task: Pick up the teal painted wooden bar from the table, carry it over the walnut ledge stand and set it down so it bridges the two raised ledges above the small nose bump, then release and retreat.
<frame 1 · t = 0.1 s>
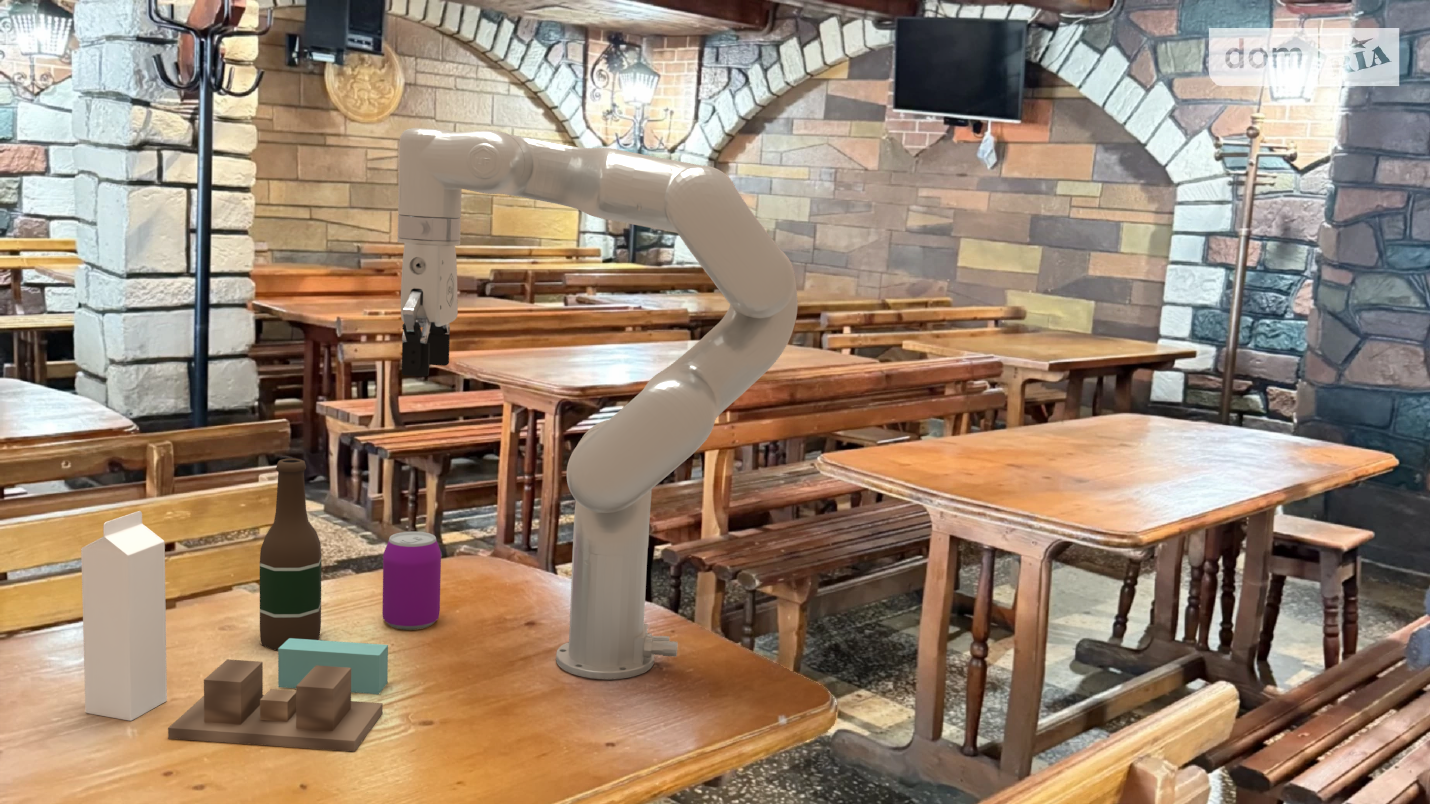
hand: (426, 369, 156), 37 cm above the table, tool pointing down, fingers open, 9 cm apart
ledge stand: (279, 725, 138), on the table
beverage can: (411, 623, 173), on the table
milk: (126, 708, 141), on the table
teal bar: (333, 686, 150), on the table
beer bottle: (290, 642, 163), on the table
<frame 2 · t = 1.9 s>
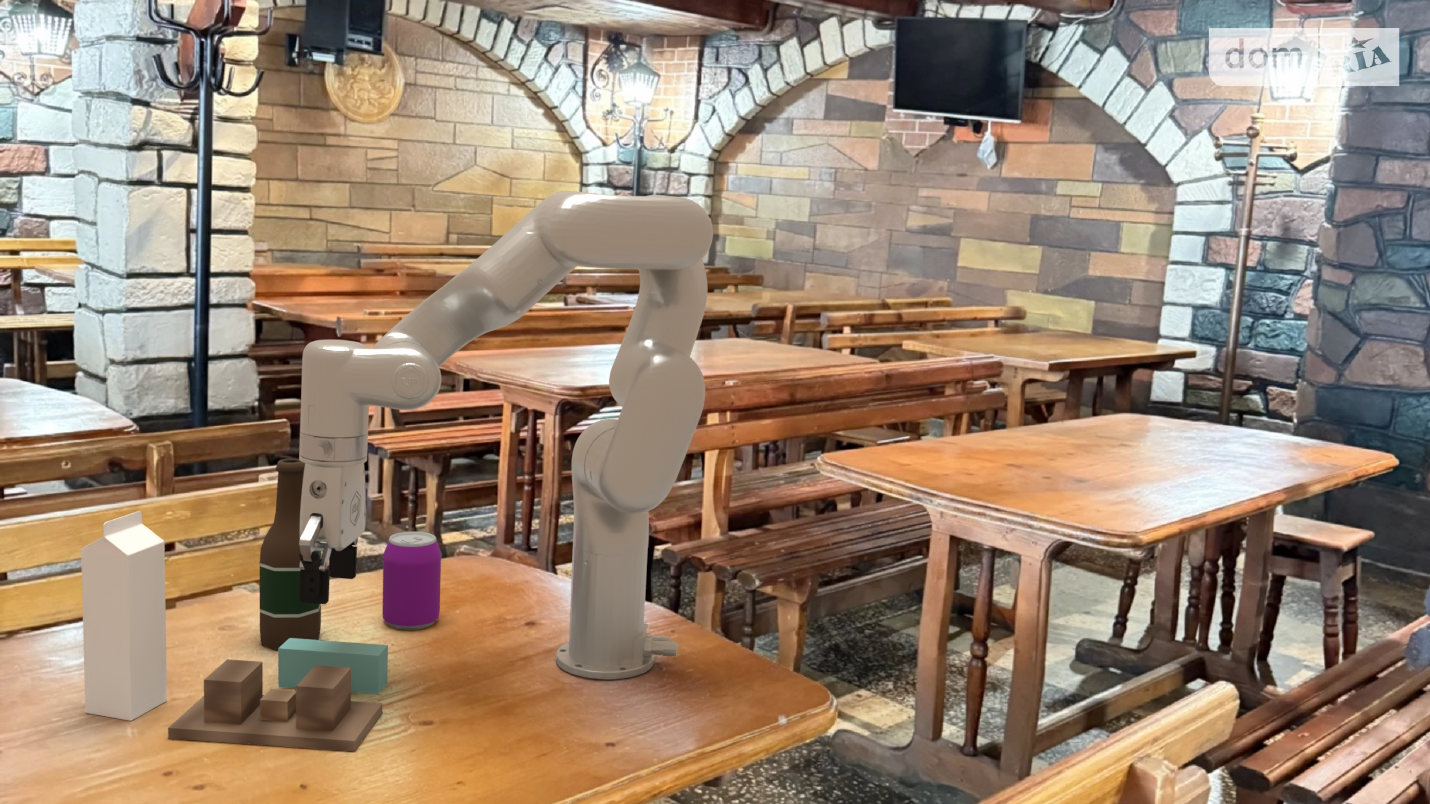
hand: (328, 589, 148), 12 cm above the table, tool pointing down, fingers open, 9 cm apart
nothing on the table moved.
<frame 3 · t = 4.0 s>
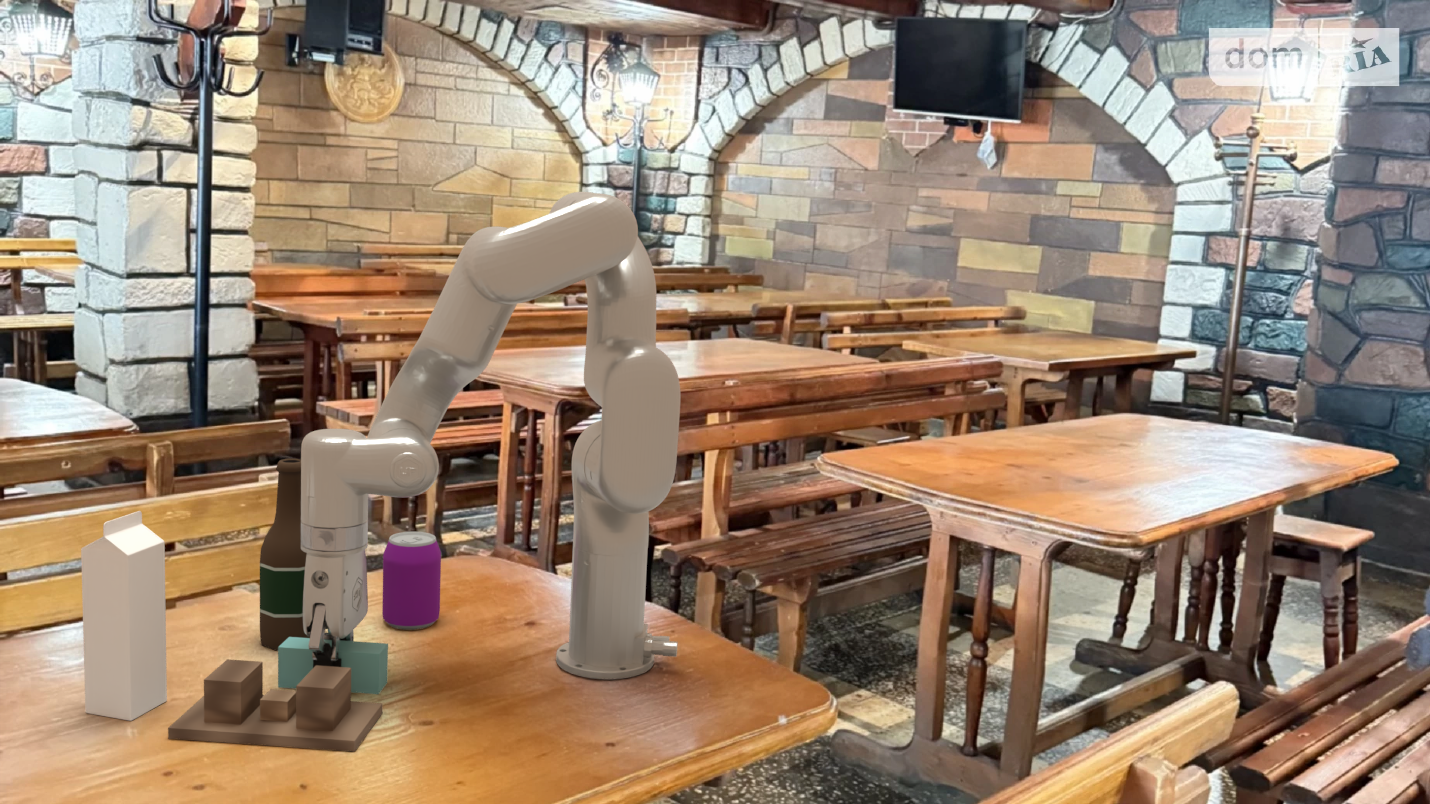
hand: (333, 682, 150), 0 cm above the table, tool pointing down, fingers closed on teal bar, 3 cm apart
teal bar: (333, 685, 150), on the table, touching gripper
everything else where it was.
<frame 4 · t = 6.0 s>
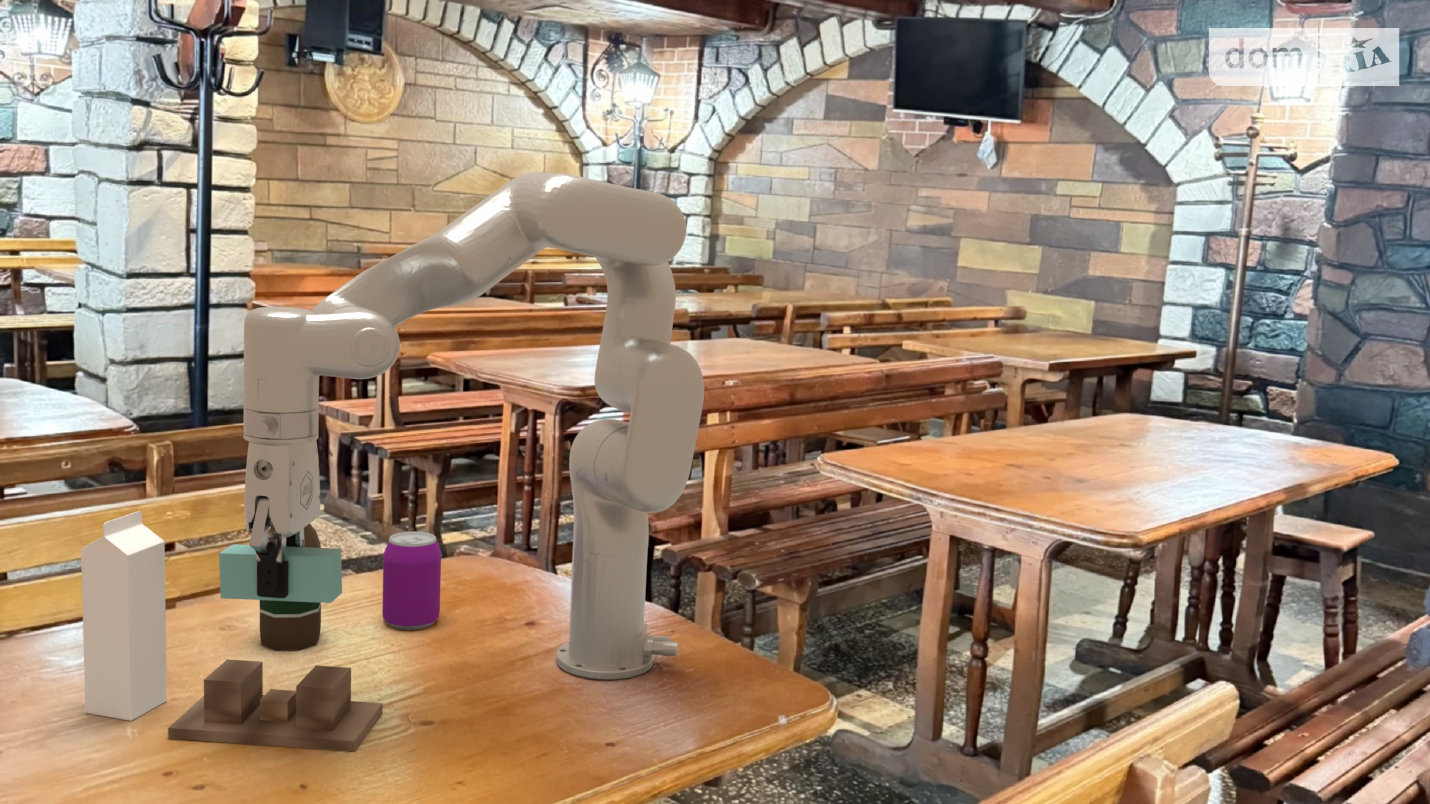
hand: (280, 588, 136), 15 cm above the table, tool pointing down, fingers closed on teal bar, 3 cm apart
teal bar: (282, 595, 136), point 15 cm above the table, touching gripper
everything else where it was.
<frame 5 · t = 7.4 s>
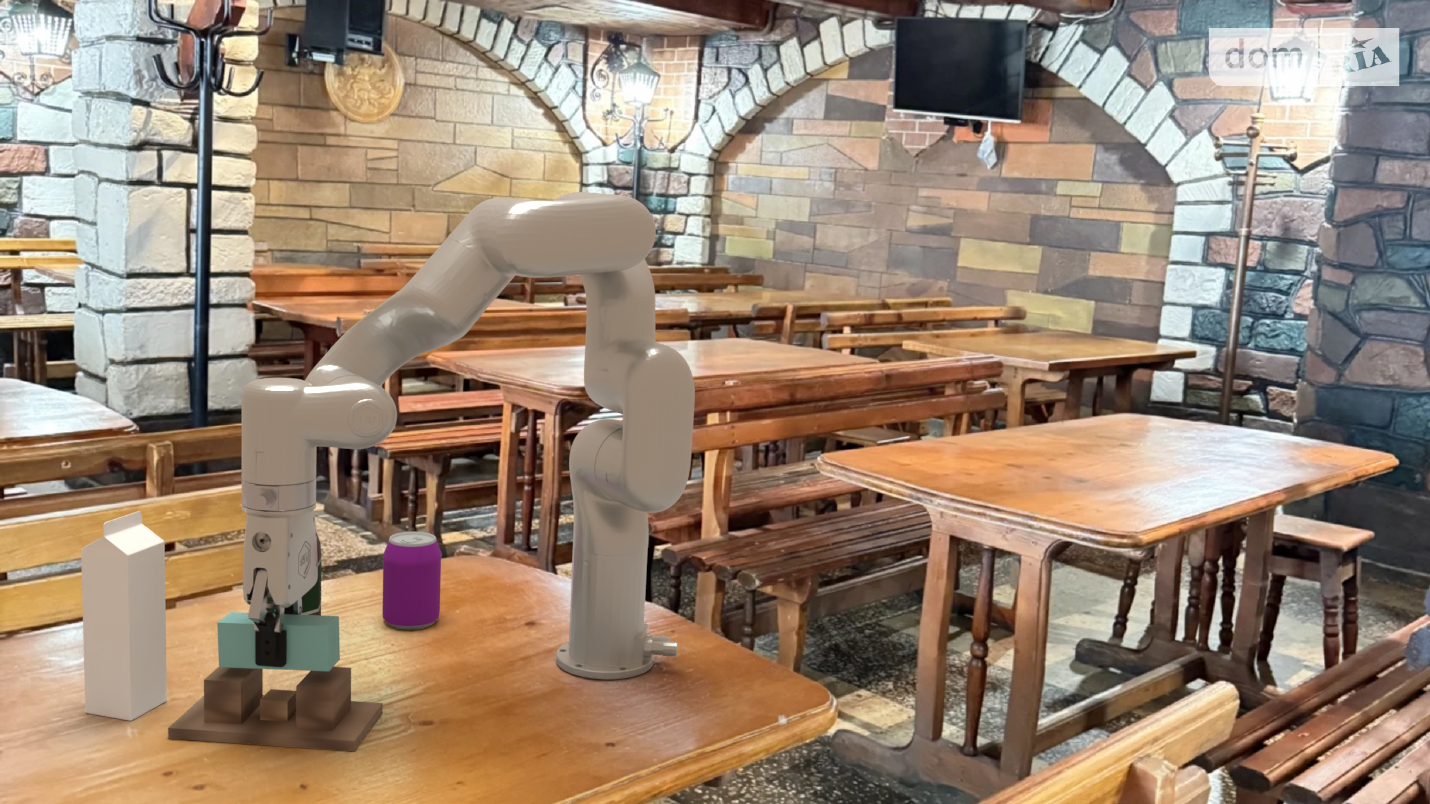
hand: (278, 656, 137), 8 cm above the table, tool pointing down, fingers closed on teal bar, 3 cm apart
teal bar: (280, 663, 137), point 7 cm above the table, touching gripper
everything else where it was.
when the fingers open (7 cm above the table, at t = 8.1 s): teal bar stays where it is, resting on ledge stand.
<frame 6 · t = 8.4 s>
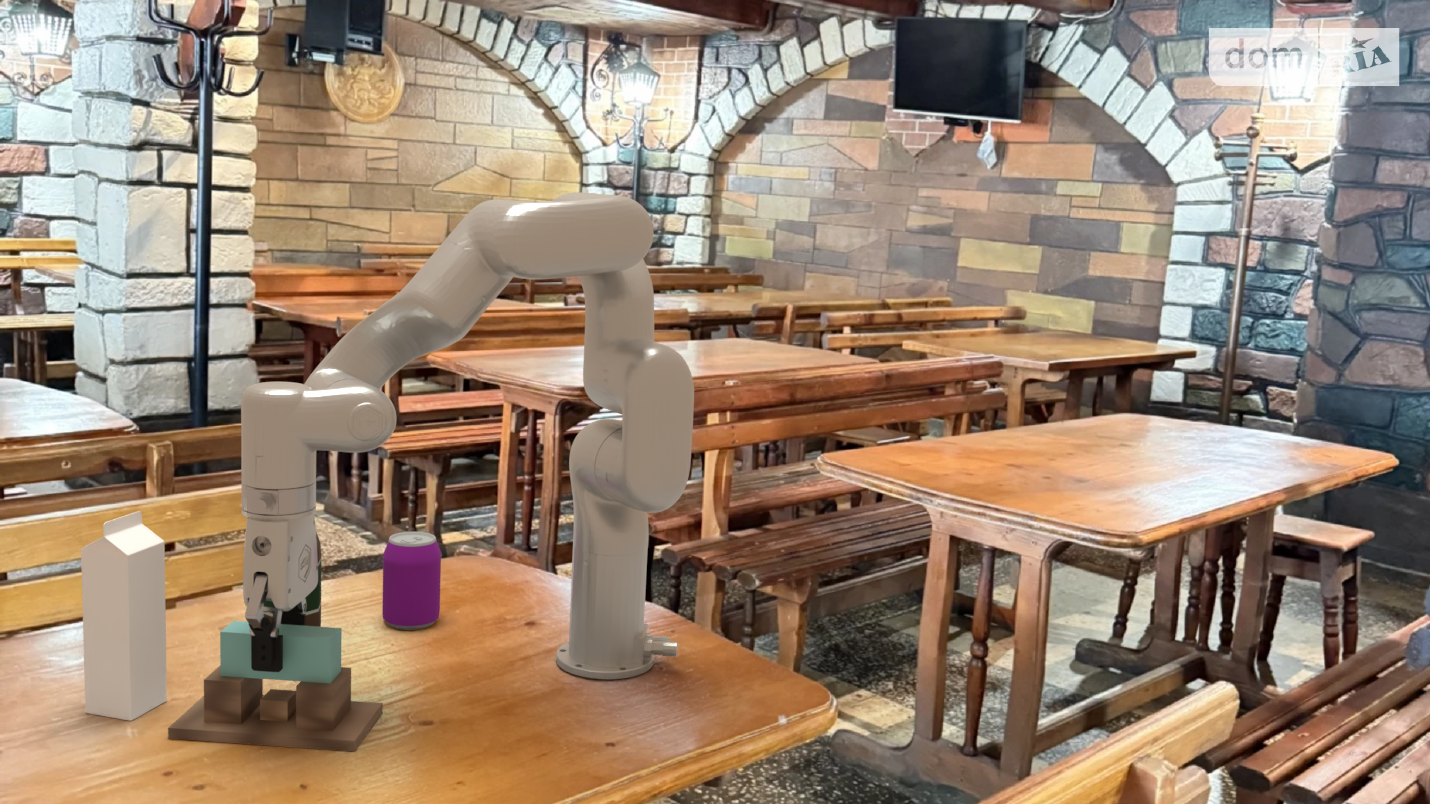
hand: (279, 657, 137), 8 cm above the table, tool pointing down, fingers open, 6 cm apart
teal bar: (281, 673, 137), point 6 cm above the table, touching ledge stand
everything else where it was.
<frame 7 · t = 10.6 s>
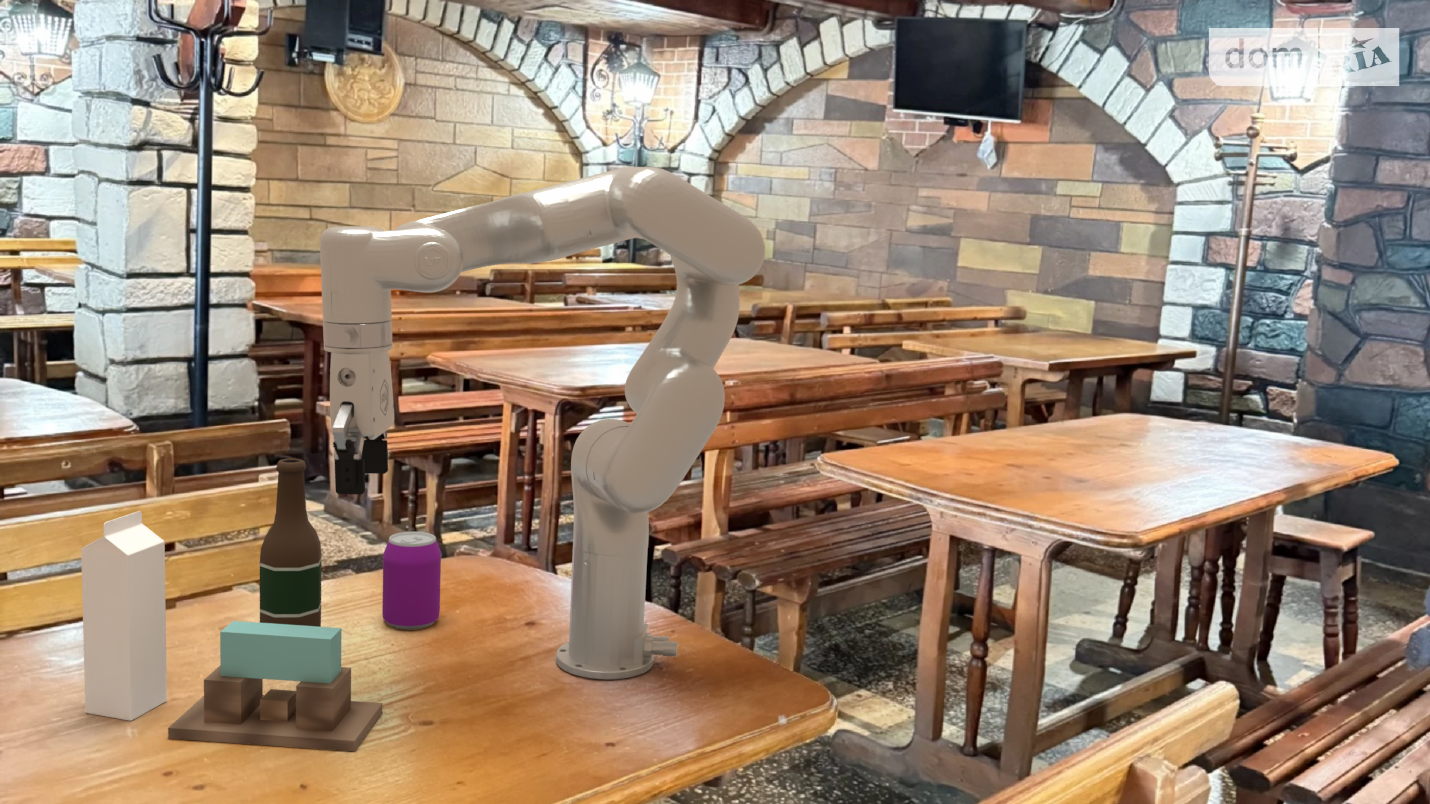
hand: (362, 482, 145), 25 cm above the table, tool pointing down, fingers open, 9 cm apart
nothing on the table moved.
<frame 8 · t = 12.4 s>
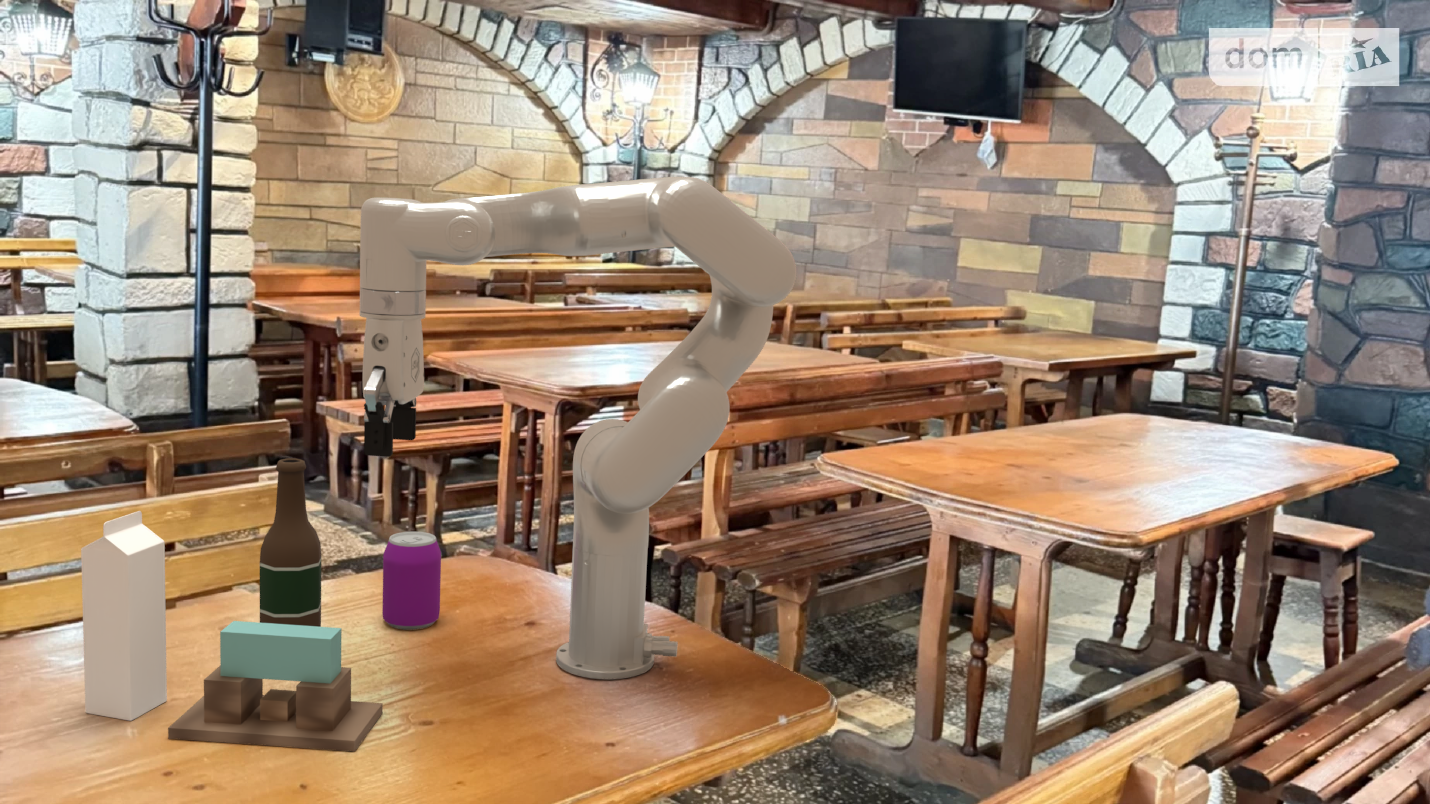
hand: (390, 447, 150), 28 cm above the table, tool pointing down, fingers open, 9 cm apart
nothing on the table moved.
at the end: teal bar 0.3 cm off-centre on the ledge stand, point 6.0 cm above the ledge stand's base; teal bar tilted 0°; the gripper is holding nothing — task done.
